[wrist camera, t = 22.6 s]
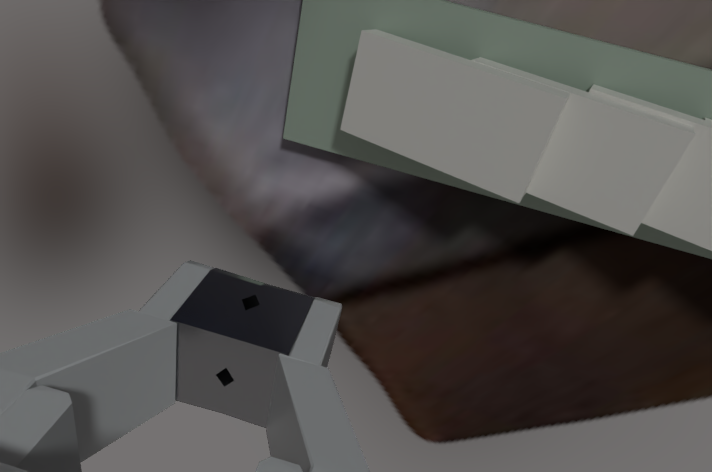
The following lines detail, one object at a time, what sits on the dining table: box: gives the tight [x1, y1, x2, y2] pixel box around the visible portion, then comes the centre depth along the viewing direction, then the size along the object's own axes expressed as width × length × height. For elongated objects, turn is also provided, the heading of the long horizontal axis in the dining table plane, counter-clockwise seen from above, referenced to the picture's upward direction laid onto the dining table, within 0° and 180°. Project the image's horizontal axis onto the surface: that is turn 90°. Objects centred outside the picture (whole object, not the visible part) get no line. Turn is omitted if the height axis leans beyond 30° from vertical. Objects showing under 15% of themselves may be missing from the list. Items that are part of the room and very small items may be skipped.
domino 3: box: [589, 84, 712, 251], centre depth 26 cm, size 2×6×11 cm
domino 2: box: [471, 57, 695, 236], centre depth 26 cm, size 2×6×11 cm
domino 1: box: [340, 29, 571, 203], centre depth 27 cm, size 2×6×11 cm
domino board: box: [283, 0, 712, 259], centre depth 29 cm, size 32×10×1 cm, turn 77°
